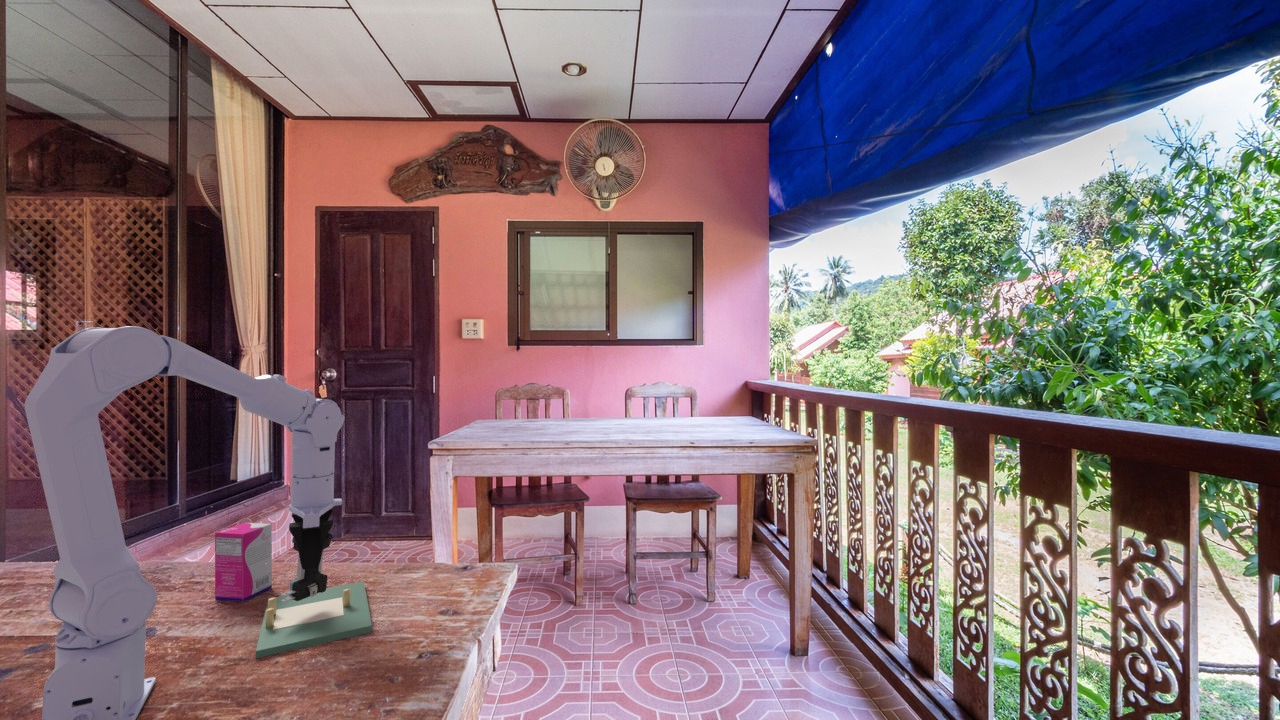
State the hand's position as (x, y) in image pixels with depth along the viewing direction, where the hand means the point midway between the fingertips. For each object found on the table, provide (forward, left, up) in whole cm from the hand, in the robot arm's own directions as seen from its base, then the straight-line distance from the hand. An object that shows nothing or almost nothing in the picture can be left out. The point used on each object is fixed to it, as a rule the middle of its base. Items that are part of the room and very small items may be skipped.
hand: (311, 561), depth 81 cm
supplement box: (+16, +10, -9) cm, 21 cm away
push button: (0, +1, -5) cm, 5 cm away
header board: (0, -1, -9) cm, 9 cm away
